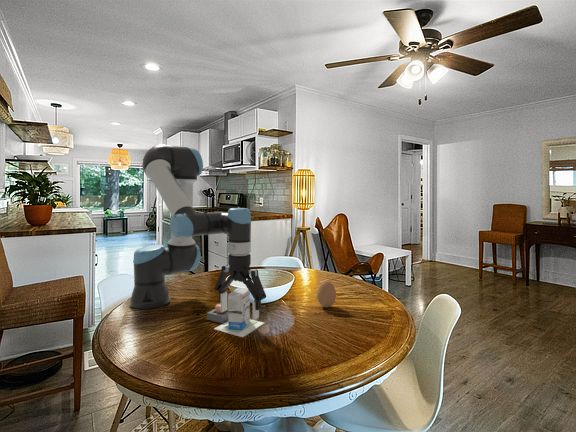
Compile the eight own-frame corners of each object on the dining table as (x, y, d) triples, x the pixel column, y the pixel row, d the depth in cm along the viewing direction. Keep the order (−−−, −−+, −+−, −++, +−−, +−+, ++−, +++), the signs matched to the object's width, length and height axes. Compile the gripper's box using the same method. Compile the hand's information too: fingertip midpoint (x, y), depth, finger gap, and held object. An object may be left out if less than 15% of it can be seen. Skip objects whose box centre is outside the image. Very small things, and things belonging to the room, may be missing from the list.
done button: (213, 312, 120) (213, 306, 119) (220, 309, 123) (220, 302, 123) (221, 314, 118) (221, 307, 118) (228, 311, 121) (228, 304, 121)
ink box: (241, 330, 108) (241, 295, 108) (227, 329, 110) (227, 294, 109) (250, 320, 117) (250, 288, 116) (237, 319, 118) (237, 287, 117)
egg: (322, 311, 128) (322, 284, 127) (313, 305, 135) (314, 279, 134) (339, 309, 130) (339, 282, 130) (330, 303, 137) (330, 277, 137)
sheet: (214, 329, 111) (214, 327, 111) (237, 317, 122) (237, 315, 122) (242, 337, 105) (242, 335, 105) (264, 323, 116) (264, 322, 116)
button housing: (207, 319, 119) (207, 312, 119) (220, 313, 125) (219, 306, 125) (222, 323, 116) (222, 316, 116) (234, 316, 122) (234, 310, 122)
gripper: (203, 251, 114) (204, 311, 116) (264, 260, 102) (263, 326, 104) (218, 248, 121) (218, 304, 122) (276, 255, 108) (276, 318, 110)
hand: (239, 314), depth 113 cm, fingers open, 13 cm apart
